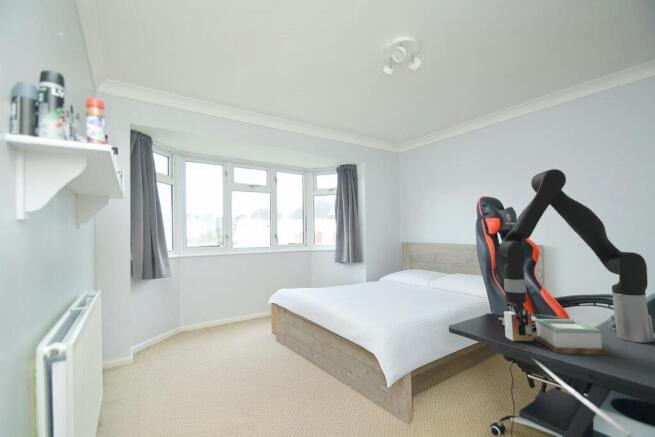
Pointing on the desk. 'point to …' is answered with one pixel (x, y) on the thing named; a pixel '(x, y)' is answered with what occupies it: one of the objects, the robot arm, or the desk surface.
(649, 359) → the desk surface
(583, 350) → the build plate
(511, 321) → the small box
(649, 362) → the desk surface
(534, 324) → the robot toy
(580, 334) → the base brick
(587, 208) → the robot arm
